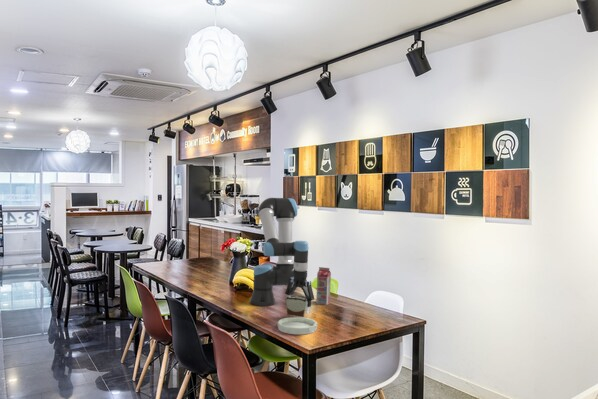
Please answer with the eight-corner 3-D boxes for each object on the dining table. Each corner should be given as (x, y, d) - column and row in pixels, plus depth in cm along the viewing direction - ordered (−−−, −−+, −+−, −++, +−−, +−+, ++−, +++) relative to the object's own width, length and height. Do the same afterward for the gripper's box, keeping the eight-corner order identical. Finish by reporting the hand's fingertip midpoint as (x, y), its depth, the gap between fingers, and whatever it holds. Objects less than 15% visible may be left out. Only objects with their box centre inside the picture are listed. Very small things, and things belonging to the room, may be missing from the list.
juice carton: (319, 301, 271) (320, 266, 270) (329, 302, 268) (331, 267, 268) (316, 303, 264) (317, 267, 264) (326, 304, 262) (327, 268, 262)
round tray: (270, 328, 212) (270, 322, 212) (295, 320, 226) (295, 315, 226) (299, 337, 199) (299, 330, 199) (324, 328, 214) (324, 322, 214)
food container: (309, 314, 233) (310, 296, 233) (306, 317, 227) (307, 298, 227) (288, 311, 237) (288, 293, 236) (284, 314, 231) (285, 296, 230)
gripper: (279, 267, 235) (278, 307, 236) (313, 274, 220) (311, 316, 220) (288, 266, 241) (287, 304, 241) (322, 272, 225) (320, 313, 226)
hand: (298, 310), depth 231 cm, fingers closed on food container, 11 cm apart
